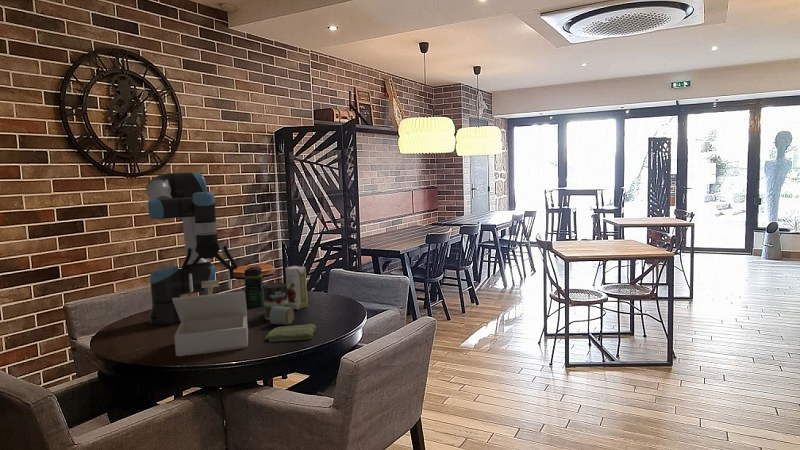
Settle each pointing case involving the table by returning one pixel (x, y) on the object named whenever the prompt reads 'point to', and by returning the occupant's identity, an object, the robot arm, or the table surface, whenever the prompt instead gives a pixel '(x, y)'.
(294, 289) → the juice carton
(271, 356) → the table surface
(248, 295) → the coffee jar
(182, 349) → the box
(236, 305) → the lid
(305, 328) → the washcloth
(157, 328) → the table surface
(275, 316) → the ceramic mug
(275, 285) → the coffee can
